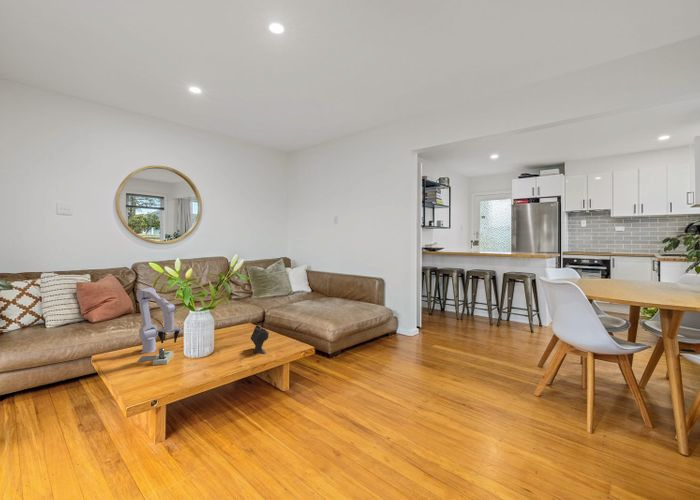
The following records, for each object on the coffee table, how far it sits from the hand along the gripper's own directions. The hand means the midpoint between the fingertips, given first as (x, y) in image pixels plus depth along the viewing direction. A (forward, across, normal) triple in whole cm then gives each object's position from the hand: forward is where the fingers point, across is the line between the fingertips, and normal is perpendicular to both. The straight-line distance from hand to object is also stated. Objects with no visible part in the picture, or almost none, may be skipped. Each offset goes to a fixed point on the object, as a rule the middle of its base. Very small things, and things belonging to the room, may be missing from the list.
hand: (168, 342), depth 220 cm
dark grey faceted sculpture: (+10, +58, +4) cm, 59 cm away
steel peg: (+10, -2, -9) cm, 13 cm away
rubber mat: (+10, -12, -1) cm, 16 cm away
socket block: (+10, -2, -5) cm, 11 cm away
